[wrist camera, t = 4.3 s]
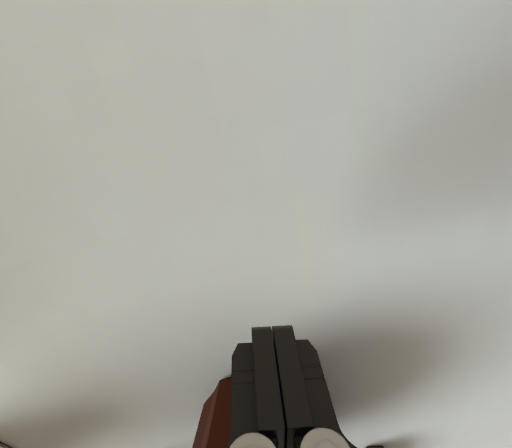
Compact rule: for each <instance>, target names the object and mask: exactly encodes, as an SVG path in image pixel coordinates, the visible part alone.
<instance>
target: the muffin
mask: <svg viewBox="0 0 512 448" xmlns="http://www.w3.org/2000/svg"><path fill="white" fill-rule="evenodd" d="M231 379H232V377H231V378H227V379H224V380H221V381H220V382H219V384H218V385H217V387H216V389H215V391H214V393H213V394H212V395H211V397H210V398H209V399H208V400H207V401H206V402H205V404H204V406H203V410H202V414H201V417H200V421H199V425H198V429H197V432H196V436H195V440H194V443H193V447H192V448H226V446H227V443H228V441H229V437H230V425H231Z"/></svg>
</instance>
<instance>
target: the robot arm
mask: <svg viewBox="0 0 512 448" xmlns="http://www.w3.org/2000/svg"><path fill="white" fill-rule="evenodd" d="M226 448H357V447H355V446H354V445H353V444H351V443H350V442H349V441H348V440H347V439H346V437H345V436H344V435H343V433H342V432H341V430H340V428H339V425H338V423H337V419H336V416H335V412H334V409H333V405H332V402H331V399H330V395H329V392H328V388H327V385H326V382H325V379H324V375H323V371H322V368H321V364H320V361H319V358H318V354H317V351H316V350H315V348H314V347H313V346H312V345H311V343H310V342H309V341H308V340H295V336H294V331H293V327H292V325H288V326H272V329H271V327H253V328H252V343H240V344H238V345H237V347H236V349H235V351H234V353H233V355H232V379H231V425H230V437H229V441H228V443H227V446H226Z"/></svg>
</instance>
